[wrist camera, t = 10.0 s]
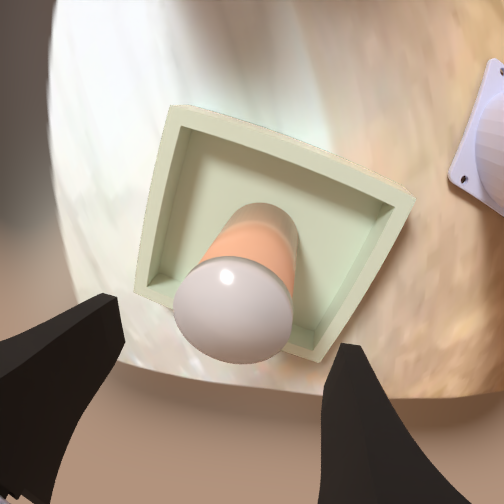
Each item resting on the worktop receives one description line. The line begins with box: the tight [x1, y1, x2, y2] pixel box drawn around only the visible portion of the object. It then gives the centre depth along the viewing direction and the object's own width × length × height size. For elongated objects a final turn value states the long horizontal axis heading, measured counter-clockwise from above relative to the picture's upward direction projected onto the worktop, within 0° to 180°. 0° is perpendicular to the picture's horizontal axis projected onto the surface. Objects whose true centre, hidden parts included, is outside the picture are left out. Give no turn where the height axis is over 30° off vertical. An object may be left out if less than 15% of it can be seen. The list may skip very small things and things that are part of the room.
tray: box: [134, 105, 416, 363], centre depth 16 cm, size 12×11×2 cm
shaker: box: [173, 202, 299, 364], centre depth 14 cm, size 4×4×7 cm
